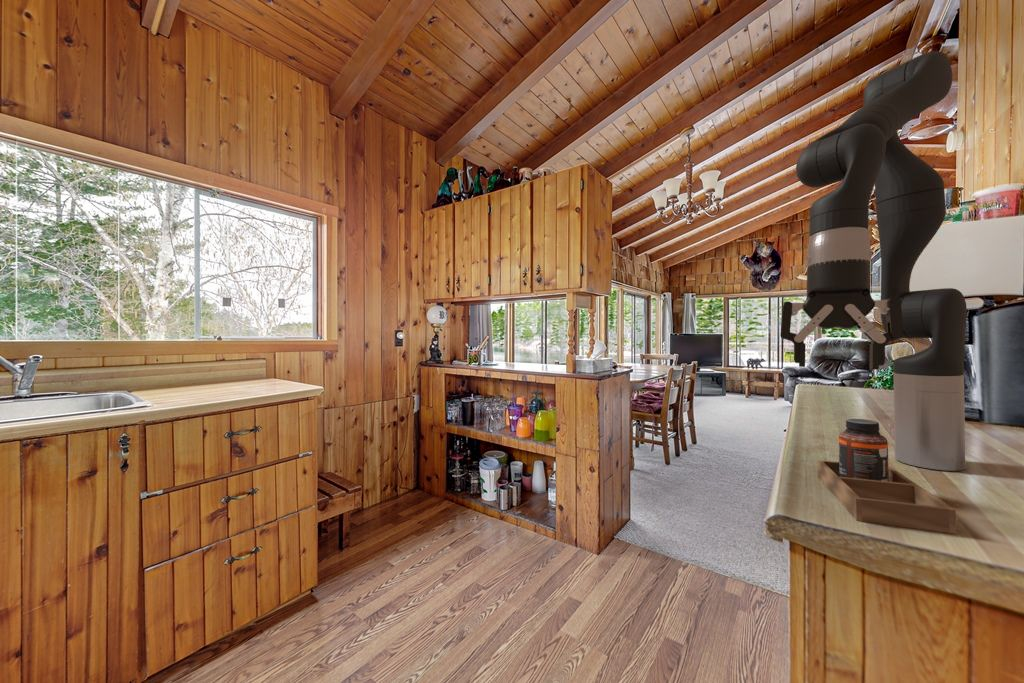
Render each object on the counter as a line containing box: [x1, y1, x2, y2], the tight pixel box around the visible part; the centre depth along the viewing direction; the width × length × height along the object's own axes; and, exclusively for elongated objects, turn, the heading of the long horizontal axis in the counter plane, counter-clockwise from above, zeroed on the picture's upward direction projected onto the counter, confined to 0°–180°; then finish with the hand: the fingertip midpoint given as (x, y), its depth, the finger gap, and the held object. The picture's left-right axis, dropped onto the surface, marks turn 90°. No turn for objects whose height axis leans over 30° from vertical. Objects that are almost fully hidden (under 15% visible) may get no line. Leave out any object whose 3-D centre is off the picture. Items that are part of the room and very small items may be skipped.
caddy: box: [817, 459, 957, 535], centre depth 59 cm, size 18×10×3 cm, turn 155°
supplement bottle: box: [838, 418, 889, 482], centre depth 63 cm, size 6×6×11 cm
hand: (836, 368), depth 60 cm, fingers open, 8 cm apart
